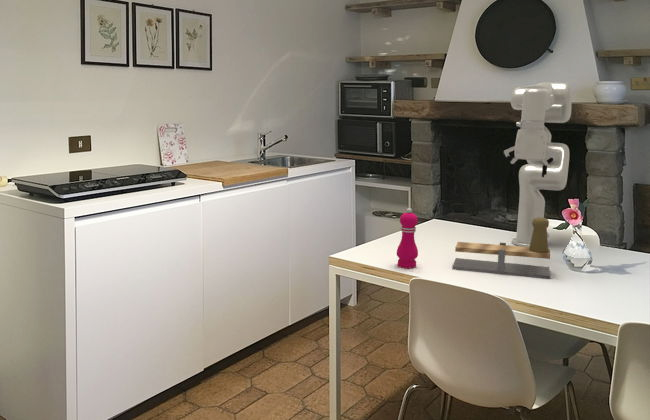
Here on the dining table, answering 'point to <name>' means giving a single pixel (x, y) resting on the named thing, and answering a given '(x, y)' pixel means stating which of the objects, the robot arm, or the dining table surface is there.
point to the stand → (502, 267)
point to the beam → (494, 250)
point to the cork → (539, 235)
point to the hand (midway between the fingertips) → (528, 175)
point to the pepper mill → (407, 240)
